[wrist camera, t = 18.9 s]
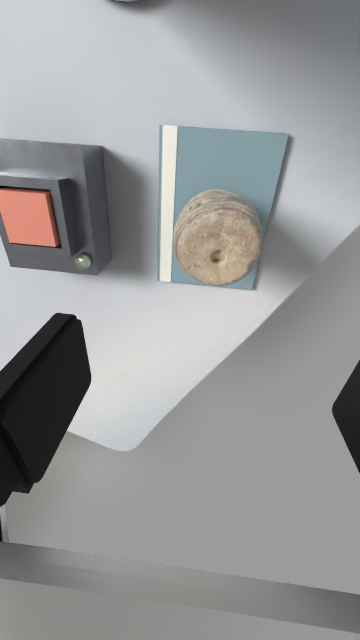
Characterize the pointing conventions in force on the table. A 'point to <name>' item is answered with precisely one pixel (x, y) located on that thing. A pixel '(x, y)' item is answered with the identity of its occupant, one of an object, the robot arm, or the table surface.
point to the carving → (218, 237)
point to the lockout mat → (213, 181)
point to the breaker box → (61, 203)
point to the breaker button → (29, 216)
